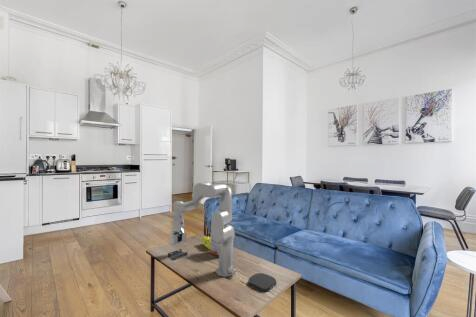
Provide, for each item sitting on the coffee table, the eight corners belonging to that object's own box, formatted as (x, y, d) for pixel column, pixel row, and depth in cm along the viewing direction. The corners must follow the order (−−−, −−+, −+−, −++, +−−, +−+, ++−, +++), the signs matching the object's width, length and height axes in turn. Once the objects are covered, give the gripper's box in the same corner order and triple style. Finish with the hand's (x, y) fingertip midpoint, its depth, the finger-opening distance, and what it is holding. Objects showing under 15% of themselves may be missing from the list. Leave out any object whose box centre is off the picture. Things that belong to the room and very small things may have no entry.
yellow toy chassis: (202, 244, 195) (202, 235, 195) (208, 243, 198) (208, 234, 198) (209, 251, 181) (209, 241, 181) (215, 249, 184) (215, 239, 184)
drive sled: (187, 255, 172) (187, 252, 172) (174, 260, 163) (174, 256, 164) (181, 251, 178) (181, 248, 178) (167, 256, 169) (167, 253, 169)
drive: (185, 240, 173) (185, 231, 173) (173, 244, 165) (173, 235, 165) (182, 239, 177) (182, 230, 177) (169, 242, 169) (170, 233, 169)
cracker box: (209, 253, 177) (209, 227, 177) (214, 250, 182) (214, 225, 182) (222, 258, 168) (222, 230, 168) (227, 255, 173) (227, 229, 173)
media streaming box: (259, 275, 145) (259, 270, 145) (278, 283, 135) (278, 278, 135) (245, 284, 133) (245, 279, 133) (265, 294, 124) (265, 289, 124)
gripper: (188, 218, 168) (188, 241, 168) (176, 214, 180) (176, 236, 180) (180, 220, 163) (180, 244, 163) (168, 215, 174) (167, 238, 174)
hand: (177, 239), depth 171 cm, fingers closed on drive, 5 cm apart
